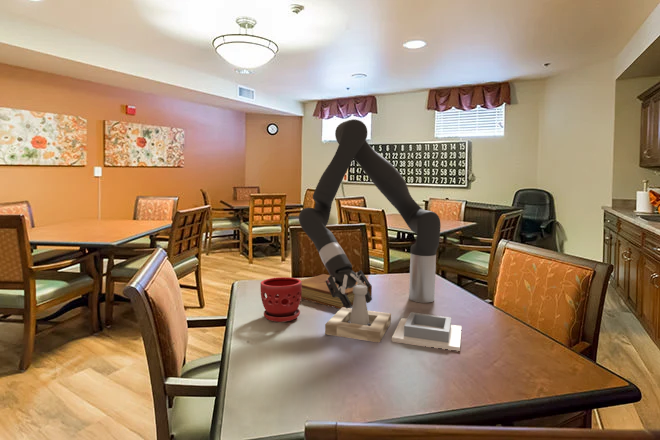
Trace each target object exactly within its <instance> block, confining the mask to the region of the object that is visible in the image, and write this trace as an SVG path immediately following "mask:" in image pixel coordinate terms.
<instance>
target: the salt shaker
mask: <svg viewBox="0 0 660 440" xmlns="http://www.w3.org/2000/svg"><path fill="white" fill-rule="evenodd" d="M353 294H355V296H354V301H353V305H351V308H352V311H351V316H350V321H349V323H353V324H360V325H367V326H369V325H370V324H369V317H368V311H369V310H368V306H367V305H368V304H367V303H366V299H365V295H366V294H367V287H366V286H363V285H356V286H354V287H353ZM367 310H368V311H367Z"/></svg>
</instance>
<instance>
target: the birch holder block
mask: <svg viewBox="0 0 660 440" xmlns="http://www.w3.org/2000/svg"><path fill="white" fill-rule="evenodd" d="M351 311H352V307H351V308H350V307H349V308H344V307H342V308H341V309H339V310H338V311H337V312H336V313H335V314H334V315H333V316H332V317H330V319H329V320H328V321H327V322H326V323H325V324H324V334H325V335H328V336H332V337H333V336H334V337H341V338H347V339H348V338H349V339H354V340H360V341H367V342H371V343H372V342H373V343H380V342H381V341H382V339H383V338H384V335H385V333H386V332H387V330H388V328H389V327H390V325H391V324H392V323H391V321H392V313H390V312H382V311H374V310H368V309H367V311H368V317H369V324H368V326H367V325H360V324H353V323H350V316H351Z"/></svg>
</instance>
